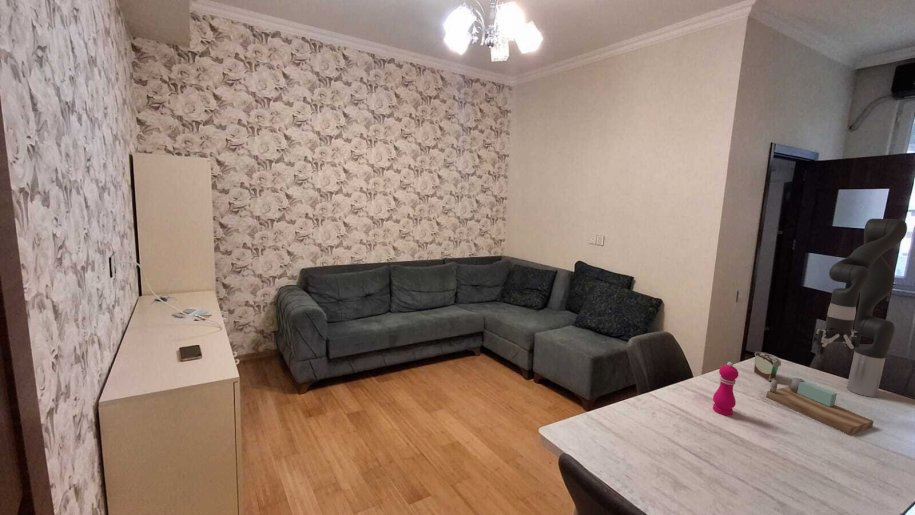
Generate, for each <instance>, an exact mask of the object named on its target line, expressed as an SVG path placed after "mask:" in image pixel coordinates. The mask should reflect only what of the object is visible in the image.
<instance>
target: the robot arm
mask: <svg viewBox="0 0 915 515" xmlns="http://www.w3.org/2000/svg"><path fill="white" fill-rule="evenodd" d="M863 229H864V230H863V244H862V245H859V246H858V247H857V248H855V249H854V250H853V251H852V252H851V254H849V256H847V257H845V258H843V259H841V260H839V261H837V262H835V263H834V264H833V265H831V267H830V269H829V270H828V271H829V272H828V276H829V278H830V279H831V280H832V281H834V282H837V283H844V284H850V287H847V288H844V287H842V288H841V287H839V288H838V287H837V288H834V289H833V290H832V293H831V299H830V302H829V303H830V304H829V306H828V309H827V310H828V311H827V313H826V321H825V329H820V328H816V329H815V331H814V334H813V338H812V343H813V344H816V345H817V350H816V352H817V354H818V355H820V356H822V357H824V356H825V352H826V346H827V345H828V344H831V343H834V342H835V343H837V342H839V343H842V344H844V347H843V352H842V355H843V357H844V358H850V357H851V355H852V351H853V349H854V353H853V357H852V358H853V359H852V363H851V366H850V370H849V376H848V380H847V384H846V389H847V390H849V391H850V392H852V393H854V394H856V395H857V394H858V395H861V396H865V397H873V398H876V397H877V396H878V391H879V387H880V385H881V384H880V383H881V380H882V375H883V370H884V365H885V362H886V357H887V354H888V352H889V350H890V347H891V343H892V340H893V338H894V334H895V329H896V328H895V324H894V323H893V322H892V321H891V320H887V319H884V318H879V317H876V316H873V311H874V308H875V307H876V306H877V304H879V303H880V302H882V300H883V299H885V298H886V297H887V296H888V295H889V294H890V293H892V291H893V288H894V282H895V272H894V270H893V269H892V267H891V265H889V263H888V262H887V260H886V259H885V258H884V257H883V254H884V253H887V252H888V251H890V250H891V249H892V248H894V247H895V246H897V245H898V244H900V243H901V241H903V239H904V238H905V237H906V235H907V232H908V224H907V222H906V221H905V220H902V219H896V218H870V219H868V220H866V222H865V225H864V228H863ZM858 299H859V300H858ZM858 301H859V302H858ZM857 303H858V306H857ZM856 308H857V309H856ZM853 328H854V330H853ZM861 337H864V338H867V339H871V340H873V343H871V344H869V343H868V344H866V343H861ZM849 338H850V339H849Z"/></svg>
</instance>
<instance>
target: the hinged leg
mask: <svg viewBox="0 0 915 515" xmlns="http://www.w3.org/2000/svg"><path fill="white" fill-rule="evenodd" d="M790 386H791V388H790V390H791V391H793V392H795V393H798V394H801V395H803V396H805V397H808V398H810V399H812V400H815V401H817V402H820V403H822V404H824V405H827V406H829V407H830V406H834V405H836V404H835V403H836V400H837V395H838V393H837V392H835V391H832V390H829V389H827V388H824V387H821V386H819V385H816V384H813V383H811V382H809V381H807V380H805V379H802V378H799V377H792V378H791V384H790Z"/></svg>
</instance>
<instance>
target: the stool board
mask: <svg viewBox="0 0 915 515" xmlns="http://www.w3.org/2000/svg"><path fill="white" fill-rule="evenodd" d="M778 385H779V381H778V380H776V379H775V380H774V379H772V382H770V388H769V390H768V391H766V396H765V397H766V398H767V399H769V400H771V401H774V402H775V403H776V402H777V403H779V404H780V405H783V407H787V408H789V409H791V410H793V411H796V413H797V412H798V413H800V414H802V415H804V416H806V417H809V418H811V419H813V420H815V421H817V422H820V423H821V424H823V425H824V424H825V425H826V426H827V427H828V426H829V427H830V428H832V427H833V429H834V428H835V430H837V431H839V430H840V431H839V432H841V433H843V432H844V433H843V434H845V433H846V435H848V436H849V435H853V434H856V433H858V432H861V431H865V430H869V429H871V428H873V425H874V422H875V421H874V420H872V419H869V418H867V417H865V416H863V415H861V414H858V413H856V412H853V411H850V410H848V409H846V408H843V407H840V406H839V405H836V404H835V405H834V406H830V407H829V406H827V405H824V404H822V403H820V402H817V401H815V400H812V399H810V398H808V397H805V396H803V395H801V394H798V393H795V392H793V391H791V390H790V388H791V385H790V386H789V385H788V386H784V387H780V388H778Z"/></svg>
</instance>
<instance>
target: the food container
mask: <svg viewBox="0 0 915 515" xmlns="http://www.w3.org/2000/svg"><path fill="white" fill-rule="evenodd" d="M754 356H755V357H754V366H753V367H754V368H753V374H756V375H757V376H759V378H762V379H764V380H765V381H767V382H769V383H771V382H772V379H774V380H776V376H777V372H778V370H779V367H781V366H782V362H781V358H779V357H778V356H775V355H773V354H770V353H768V352H761V351H755V352H754Z"/></svg>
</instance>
